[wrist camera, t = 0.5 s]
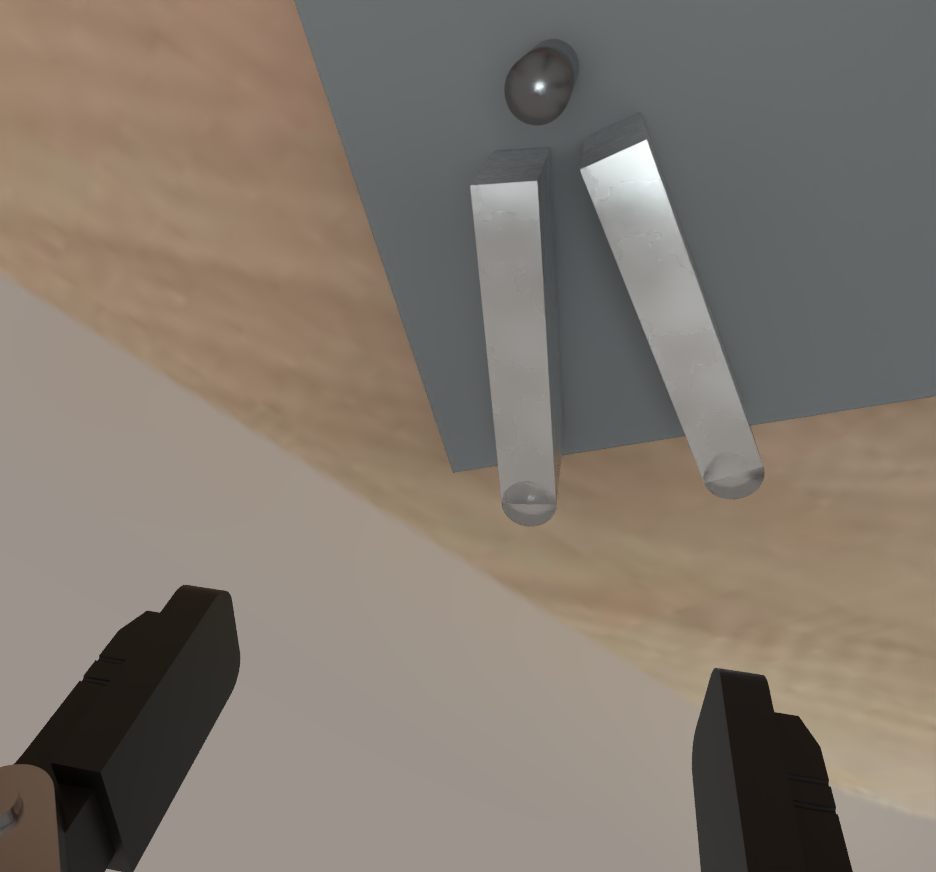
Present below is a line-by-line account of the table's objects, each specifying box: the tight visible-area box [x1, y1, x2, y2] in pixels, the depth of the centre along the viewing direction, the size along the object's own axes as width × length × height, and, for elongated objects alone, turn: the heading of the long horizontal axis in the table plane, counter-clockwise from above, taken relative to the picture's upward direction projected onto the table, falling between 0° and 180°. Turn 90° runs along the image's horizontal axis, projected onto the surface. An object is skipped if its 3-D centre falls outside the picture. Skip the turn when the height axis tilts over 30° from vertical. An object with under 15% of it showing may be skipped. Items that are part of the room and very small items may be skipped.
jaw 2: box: [580, 112, 764, 499], centre depth 27 cm, size 12×2×6 cm, turn 25°
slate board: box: [294, 0, 936, 472], centre depth 28 cm, size 20×24×1 cm
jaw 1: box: [470, 147, 564, 526], centre depth 28 cm, size 12×2×6 cm, turn 6°
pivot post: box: [504, 39, 579, 126], centre depth 24 cm, size 2×2×6 cm
